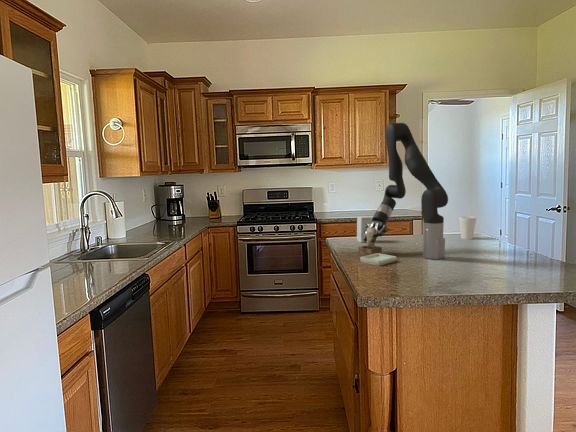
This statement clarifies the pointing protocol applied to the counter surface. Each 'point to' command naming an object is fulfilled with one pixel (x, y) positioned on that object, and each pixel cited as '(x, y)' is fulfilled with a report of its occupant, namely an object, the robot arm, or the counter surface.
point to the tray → (378, 259)
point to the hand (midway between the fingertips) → (368, 241)
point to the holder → (369, 250)
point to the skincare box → (362, 227)
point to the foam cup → (467, 226)
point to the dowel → (369, 235)
